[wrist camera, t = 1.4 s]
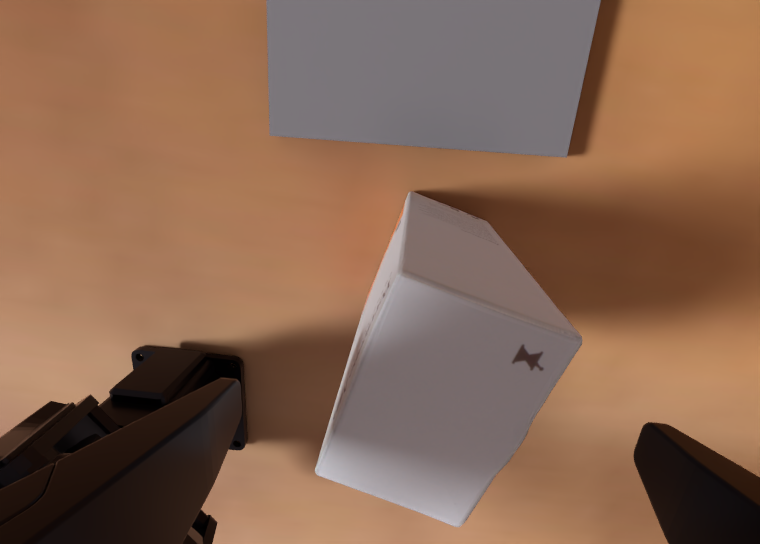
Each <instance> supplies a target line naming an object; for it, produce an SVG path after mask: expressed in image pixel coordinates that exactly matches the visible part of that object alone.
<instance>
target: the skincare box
mask: <svg viewBox="0 0 760 544" xmlns="http://www.w3.org/2000/svg"><path fill="white" fill-rule="evenodd" d="M581 345H582V337H581V335H580V334H579V333H578V331H577V330H576V329H575V328H574V327H573V326H572V325H571V323H570V322H569V321H568V320H567V319H566V317H565V316H564V315H563V314H562V313H561V312H560V311H559V309H558V308H557V307H556V306H555V304H554V303H553V302H552V300H551V299H550V298H549V297H548V296H547V294H546V293H545V292H544V290H543V289H542V288H541V287H540V285H539V284H538V283H537V282H536V281H535V279H534V278H533V277H532V276H531V274H530V273H529V272H528V271H527V270H526V269H525V267H524V266H523V265H522V263H521V262H520V261H519V260H518V258H517V257H516V256H515V255H514V253H513V252H512V251H511V250H510V249H509V247H508V246H507V245H506V244H505V243H504V242H503V240H502V239H501V238H500V236H499V235H498V234H497V233H496V232H495V230H494V229H493V228H492V227H491V225H490V224H489V223H488V222H487V221H485V220H483V219H480V218H478V217H475V216H473V215H470V214H468V213H465V212H463V211H461V210H458V209H456V208H453V207H451V206H448V205H445V204H443V203H440V202H437V201H435V200H432V199H430V198H427V197H425V196H422V195H420V194H418V193H415V192H413V191H410V192H409V193H408V196H407V198H406V201H405V203H404V206H403V209H402V211H401V214H400V216H399V219H398V221H397V224H396V226H395V229H394V231H393V233H392V236H391V238H390V241H389V243H388V246H387V248H386V251H385V253H384V256H383V259H382V261H381V264H380V266H379V269H378V271H377V274H376V276H375V279H374V281H373V283H372V286H371V288H370V291H369V293H368V296H367V299H366V302H365V306H364V309H363V312H362V315H361V319H360V322H359V325H358V329H357V332H356V335H355V338H354V342H353V345H352V348H351V351H350V355H349V358H348V361H347V365H346V368H345V371H344V374H343V378H342V381H341V384H340V388H339V391H338V394H337V398H336V401H335V404H334V408H333V411H332V414H331V418H330V421H329V424H328V428H327V431H326V434H325V438H324V441H323V445H322V448H321V451H320V455H319V458H318V462H317V465H316V468H315V473H316V474H317V475H318V476H320V477H323V478H326V479H329V480H332V481H335V482H337V483H340V484H343V485H345V486H348V487H351V488H354V489H356V490H359V491H362V492H365V493H368V494H371V495H373V496H376V497H379V498H381V499H384V500H387V501H390V502H392V503H395V504H398V505H400V506H403V507H406V508H409V509H411V510H414V511H417V512H419V513H422V514H425V515H427V516H430V517H432V518H435V519H437V520H440V521H442V522H445V523H447V524H449V525H452V526H455V527H460V526H461V525H462V524H464V523H465V521H466V520H467V518H468V517H469V515H470V514H471V512H472V511H473V509H474V508H475V506H476V505H477V503H478V502H479V500H480V499H481V497H482V496H483V494H484V493H485V491H486V490H487V488H488V487H489V485H490V483H491V482H492V480H493V479H494V477H495V476H496V474H497V473H498V472H499V471H500V470H501V469H502V468H503V467H504V466H505V465H506V464H507V463H508V462H509V460H510V459H511V457H512V456H513V455H514V453H515V452H516V450H517V449H518V448H519V446H520V445H521V443H522V442H523V440H524V439H525V437H526V435H527V432H528V430H529V427H530V425H531V423H532V421H533V419H534V418H535V416H536V414H537V413H538V411H539V410H540V408H541V407H542V405H543V404H544V402H545V401H546V399H547V397H548V396H549V394H550V392H551V390H552V389H553V388H554V386H555V385H556V383H557V382H558V380H559V379H560V377H561V376H562V374H563V373H564V371H565V369H566V368H567V366H568V365H569V363H570V362H571V360H572V358H573V357H574V355H575V354H576V352H577V351H578V349H579V348H580V346H581Z"/></svg>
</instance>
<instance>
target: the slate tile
mask: <svg viewBox="0 0 760 544" xmlns="http://www.w3.org/2000/svg"><path fill="white" fill-rule="evenodd" d="M600 2H601V0H267V39H268V83H269V126H270V136H282V137H296V138H309V139H323V140H337V141H350V142H364V143H377V144H391V145H405V146H418V147H432V148H445V149H459V150H473V151H486V152H500V153H513V154H527V155H540V156H554V157H567V154H568V149H569V145H570V140H571V135H572V131H573V126H574V122H575V117H576V112H577V108H578V103H579V99H580V94H581V89H582V85H583V80H584V76H585V71H586V66H587V62H588V57H589V52H590V48H591V43H592V39H593V34H594V29H595V25H596V20H597V16H598V11H599V6H600Z"/></svg>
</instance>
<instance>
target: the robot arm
mask: <svg viewBox="0 0 760 544" xmlns="http://www.w3.org/2000/svg"><path fill="white" fill-rule="evenodd" d="M140 354H142V355H143V357H142V356H141V355H140ZM131 357H132V363H133V369H134V370H133V371H132V372H131V373H130V374H129V375H127V376H126V377H125V378H124V379H123V380H121V381H120V382H119V383H118V384H117V385H115V386H114V387H113V388H112V389H111V390H110V391H109V393H110V397H109V398H107V399H106V400H105V401H104V402H103V403H102V404H100V405H99V406H98V404H99V402H98V401H97V400H96V399H95V398H94V397H93V396H92V395H91V394H90V395H89V396H87V397H86V398H84V399H83V400H81V401H80V402H78V403H77V404H74V403H73V402H72V403H70V404H69V403H68V404H62V403H58V402H53V401H50V402H49V403H47V404H46V405H44V406H43V407H42V408H40V409H39V410H37V411H36V412H35V413H33V414H32V415H30V416H29V417H28V418H26V419H25V420H24V421H22V422H21V423H19V424H18V425H17V426H15V427H14V428H13V429H11V430H10V431H8V432H7V433H6V434H4V435H3V436H2V437H0V544H212V542H213V538H214V534H215V530H216V526H217V522H216V521H215V520H214V518H213V517H212V516H211V515H206V514H205V513H204V512H203V511H202V510H201V508H202V506H203V504H204V502H205V500H206V498H207V496H208V494H209V492H210V490H211V489H212V487H213V485H214V482H215V480H216V478H217V476H218V473H219V471H220V468H221V466H222V463H223V461H224V459H225V456H226V454H227V451H228V449H230V450H242V449H243V448H244V447H245V445H246V443H247V421H246V403H245V384H244V365H243V361H242V360H241V359H240V358H239V357H236V356H229V355H220V354H210V353H204V352H201V351H193V350H183V349H173V348H164V347H162V348H153V347H139V348H137V349H136V350H134V351H133V352H132V356H131ZM231 363H232V364H234V365H235V366H236V367H233V366H232V365H231ZM238 441H239V442H238ZM634 462H635V465H636V468H637V470H638V472H639V475H640V477H641V480H642V482H643V485H644V487H645V490H646V492H647V494H648V497H649V499H650V502H651V504H652V507H653V509H654V511H655V514H656V516H657V519H658V521H659V524H660V526H661V528H662V530H663V533H664V535H665V537H666V539H667V541H668V543H669V544H760V477H758V476H756V475H755V474H753V473H751V472H749V471H748V470H746V469H744V468H743V467H741V466H739V465H737V464H736V463H734V462H732V461H730V460H729V459H727V458H725V457H724V456H722V455H720V454H718V453H717V452H715V451H713V450H711V449H710V448H708V447H706V446H705V445H703V444H701V443H699V442H698V441H696V440H694V439H692V438H691V437H689V436H687V435H686V434H684V433H682V432H680V431H679V430H677V429H675V428H673V427H672V426H670V425H667V424H662V423H652V422H648V423H646V424H645V425H644V426H643V428H642V430H641V433H640V436H639V439H638V442H637V444H636V447H635V450H634Z"/></svg>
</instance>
